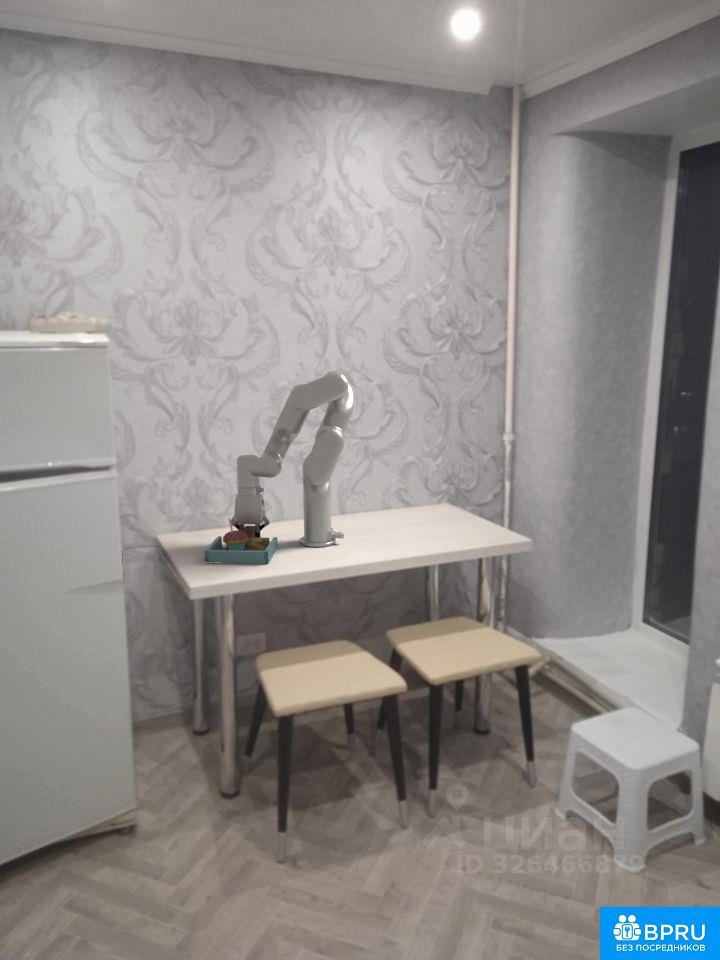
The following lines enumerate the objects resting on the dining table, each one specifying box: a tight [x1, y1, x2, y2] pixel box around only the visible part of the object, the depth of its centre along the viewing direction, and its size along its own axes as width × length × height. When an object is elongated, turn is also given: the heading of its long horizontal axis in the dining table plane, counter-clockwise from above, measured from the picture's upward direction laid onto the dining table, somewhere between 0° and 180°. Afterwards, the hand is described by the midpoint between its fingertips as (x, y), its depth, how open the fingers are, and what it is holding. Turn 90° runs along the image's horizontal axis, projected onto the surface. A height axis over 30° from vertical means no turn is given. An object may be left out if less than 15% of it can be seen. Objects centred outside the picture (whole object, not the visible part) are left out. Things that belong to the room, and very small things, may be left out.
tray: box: [203, 535, 279, 565], centre depth 240 cm, size 20×17×4 cm
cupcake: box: [222, 517, 249, 551], centre depth 244 cm, size 9×8×12 cm
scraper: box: [225, 525, 270, 551], centre depth 250 cm, size 14×8×6 cm, turn 85°
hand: (250, 542), depth 253 cm, fingers closed on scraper, 4 cm apart
